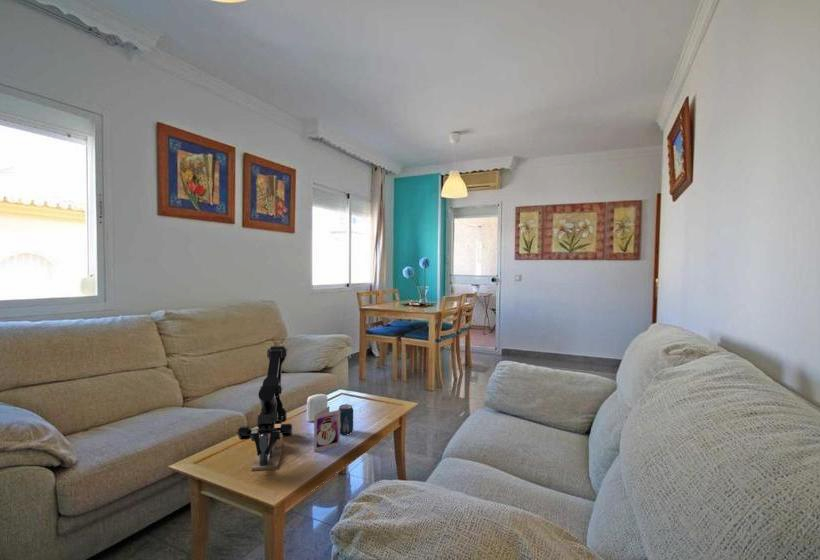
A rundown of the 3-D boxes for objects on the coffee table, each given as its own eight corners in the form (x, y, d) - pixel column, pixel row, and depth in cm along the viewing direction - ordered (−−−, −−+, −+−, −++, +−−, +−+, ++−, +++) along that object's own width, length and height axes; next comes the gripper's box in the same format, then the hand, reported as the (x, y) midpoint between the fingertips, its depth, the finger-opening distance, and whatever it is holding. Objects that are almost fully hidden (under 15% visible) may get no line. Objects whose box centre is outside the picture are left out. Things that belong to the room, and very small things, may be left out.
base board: (260, 445, 157) (260, 443, 157) (283, 444, 159) (283, 441, 159) (251, 470, 138) (251, 467, 138) (277, 468, 140) (277, 465, 140)
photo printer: (325, 415, 192) (325, 391, 191) (328, 418, 188) (328, 393, 188) (305, 420, 186) (305, 395, 186) (308, 423, 182) (308, 397, 182)
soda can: (347, 428, 177) (347, 402, 177) (356, 432, 172) (356, 406, 172) (334, 432, 172) (335, 406, 172) (343, 437, 167) (344, 410, 167)
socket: (261, 443, 157) (262, 424, 157) (282, 442, 159) (282, 423, 159) (260, 448, 153) (260, 429, 153) (280, 447, 154) (281, 427, 154)
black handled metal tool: (265, 449, 151) (266, 418, 151) (273, 448, 151) (273, 418, 151) (258, 470, 135) (259, 436, 135) (267, 469, 135) (267, 435, 135)
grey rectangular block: (264, 449, 152) (264, 439, 152) (275, 448, 153) (275, 438, 153) (261, 459, 144) (261, 448, 144) (272, 458, 145) (273, 447, 145)
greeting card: (314, 452, 152) (315, 416, 152) (307, 445, 158) (308, 410, 158) (340, 445, 159) (341, 410, 159) (333, 439, 165) (333, 405, 165)
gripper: (239, 405, 138) (231, 448, 127) (292, 402, 142) (289, 444, 131) (243, 418, 146) (236, 460, 135) (293, 415, 150) (290, 456, 139)
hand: (263, 455), depth 135 cm, fingers closed on black handled metal tool, 3 cm apart
